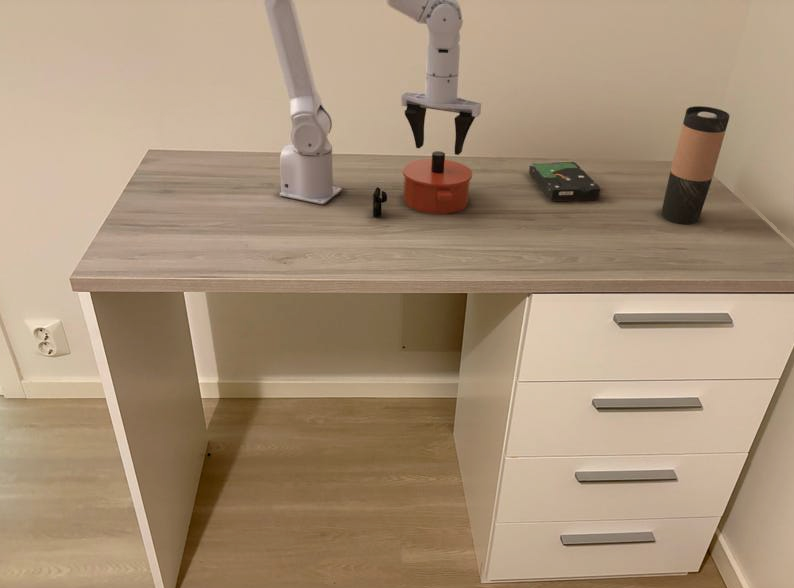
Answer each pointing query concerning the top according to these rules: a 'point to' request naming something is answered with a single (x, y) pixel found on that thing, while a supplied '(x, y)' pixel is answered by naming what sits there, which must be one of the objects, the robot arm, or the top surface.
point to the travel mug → (694, 163)
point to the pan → (435, 197)
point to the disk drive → (564, 181)
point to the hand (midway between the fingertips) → (438, 149)
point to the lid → (437, 171)
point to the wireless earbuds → (378, 202)
